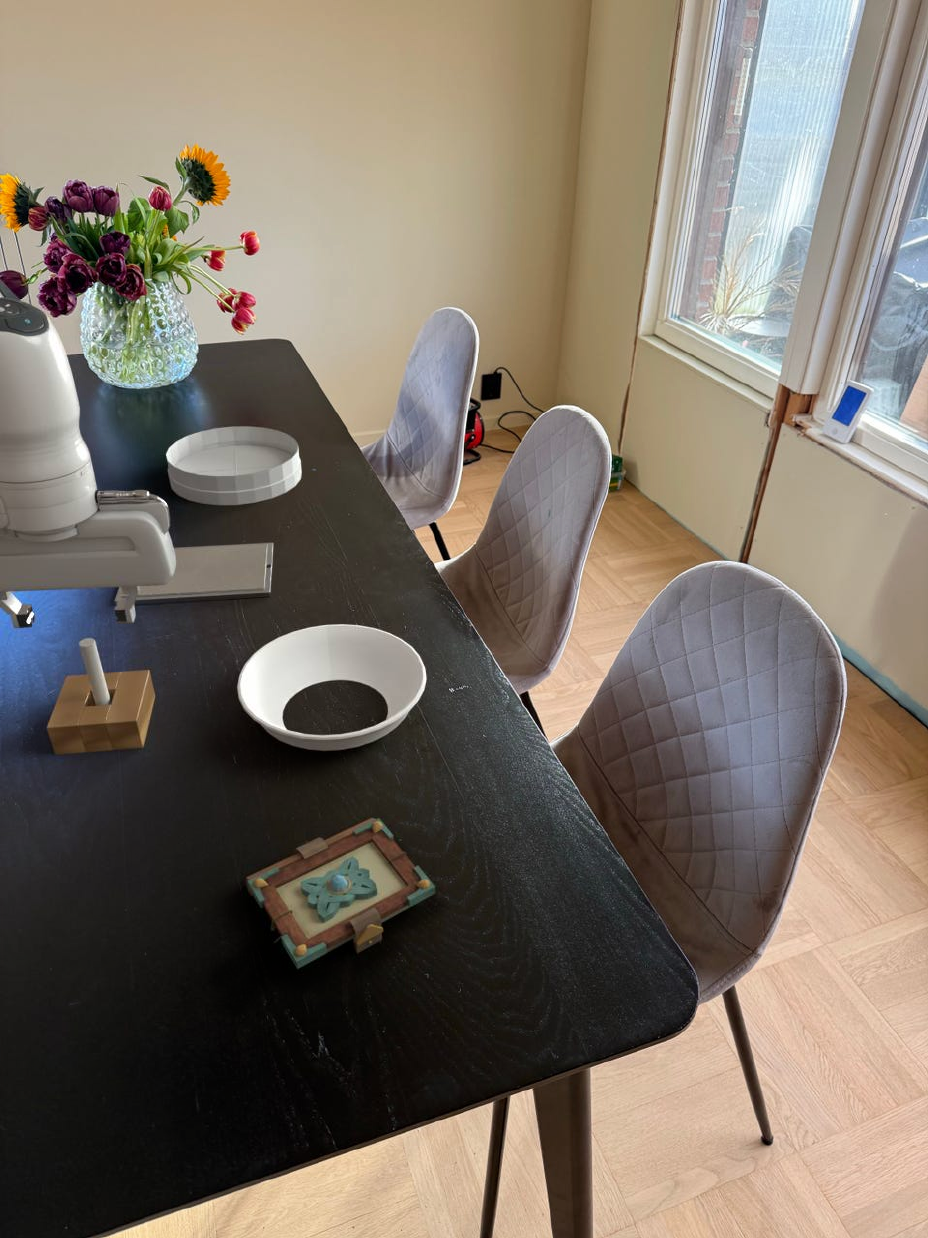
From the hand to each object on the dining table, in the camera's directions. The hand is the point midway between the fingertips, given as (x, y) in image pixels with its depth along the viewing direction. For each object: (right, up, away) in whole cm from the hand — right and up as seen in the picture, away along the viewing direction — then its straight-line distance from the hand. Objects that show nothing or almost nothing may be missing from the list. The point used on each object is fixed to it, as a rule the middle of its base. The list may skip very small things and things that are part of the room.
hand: (76, 622), depth 83 cm
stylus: (0, -12, +8) cm, 14 cm away
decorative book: (+26, -26, -12) cm, 39 cm away
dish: (-1, +25, +64) cm, 68 cm away
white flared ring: (+24, -11, +11) cm, 28 cm away
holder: (0, -12, +8) cm, 14 cm away
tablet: (+1, +6, +36) cm, 37 cm away
